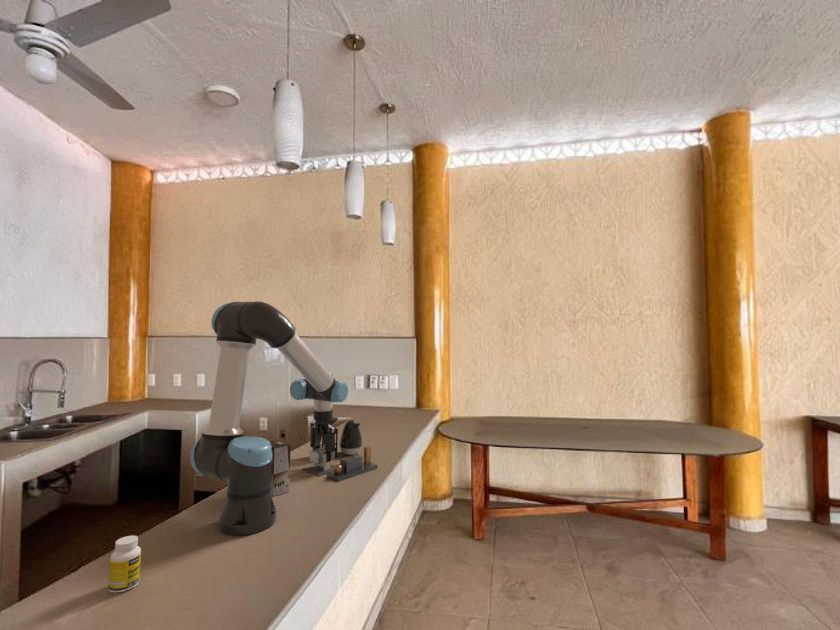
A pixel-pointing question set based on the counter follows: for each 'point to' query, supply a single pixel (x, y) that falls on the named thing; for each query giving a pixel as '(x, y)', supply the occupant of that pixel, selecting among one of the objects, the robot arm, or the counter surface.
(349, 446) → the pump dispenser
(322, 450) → the white box with knob
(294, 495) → the counter surface
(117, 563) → the supplement bottle
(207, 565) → the counter surface
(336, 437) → the french press
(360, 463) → the grey stand
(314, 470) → the mat
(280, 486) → the coffee box
